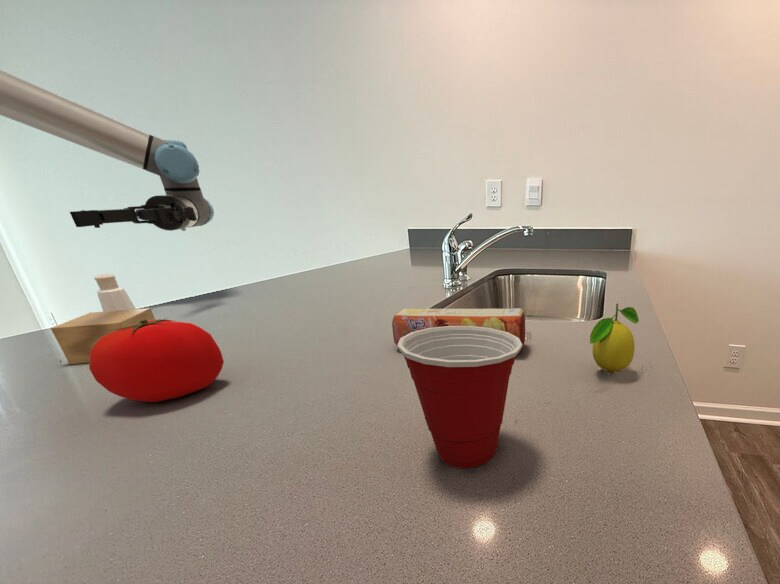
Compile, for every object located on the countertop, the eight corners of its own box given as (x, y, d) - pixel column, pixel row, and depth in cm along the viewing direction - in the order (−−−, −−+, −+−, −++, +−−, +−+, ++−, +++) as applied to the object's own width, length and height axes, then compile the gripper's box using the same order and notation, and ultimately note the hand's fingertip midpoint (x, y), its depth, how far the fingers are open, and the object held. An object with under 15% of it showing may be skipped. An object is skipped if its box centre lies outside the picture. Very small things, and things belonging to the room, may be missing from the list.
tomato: (235, 393, 54) (208, 317, 49) (106, 425, 47) (61, 341, 42) (226, 367, 62) (202, 300, 57) (116, 391, 55) (79, 317, 50)
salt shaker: (103, 338, 76) (74, 278, 71) (131, 329, 81) (106, 272, 76) (128, 338, 75) (101, 278, 70) (155, 329, 80) (131, 272, 75)
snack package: (392, 352, 66) (385, 311, 63) (409, 338, 72) (403, 301, 69) (521, 359, 62) (521, 316, 59) (528, 344, 68) (527, 304, 65)
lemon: (633, 365, 59) (641, 297, 55) (638, 383, 54) (648, 309, 49) (586, 364, 60) (591, 296, 55) (587, 381, 55) (592, 308, 50)
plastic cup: (546, 451, 40) (548, 336, 35) (455, 503, 34) (441, 372, 29) (479, 412, 48) (473, 312, 42) (395, 449, 41) (375, 336, 36)
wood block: (69, 364, 64) (50, 328, 61) (105, 345, 72) (89, 312, 69) (136, 358, 66) (119, 322, 63) (164, 340, 74) (150, 308, 71)
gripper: (234, 227, 101) (197, 235, 83) (117, 231, 96) (49, 241, 77) (224, 193, 98) (183, 194, 79) (102, 196, 93) (28, 198, 74)
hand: (117, 218), depth 78 cm, fingers open, 13 cm apart
